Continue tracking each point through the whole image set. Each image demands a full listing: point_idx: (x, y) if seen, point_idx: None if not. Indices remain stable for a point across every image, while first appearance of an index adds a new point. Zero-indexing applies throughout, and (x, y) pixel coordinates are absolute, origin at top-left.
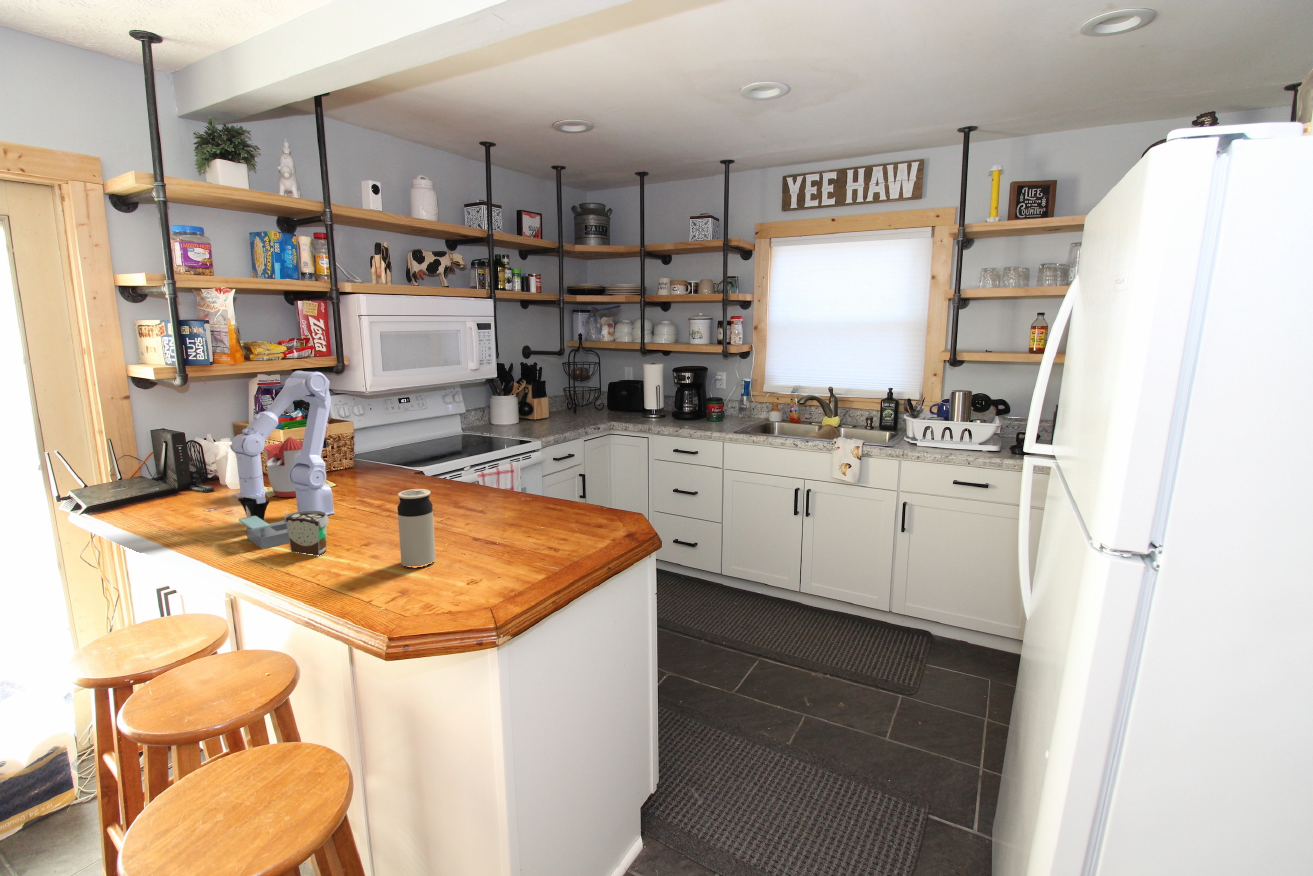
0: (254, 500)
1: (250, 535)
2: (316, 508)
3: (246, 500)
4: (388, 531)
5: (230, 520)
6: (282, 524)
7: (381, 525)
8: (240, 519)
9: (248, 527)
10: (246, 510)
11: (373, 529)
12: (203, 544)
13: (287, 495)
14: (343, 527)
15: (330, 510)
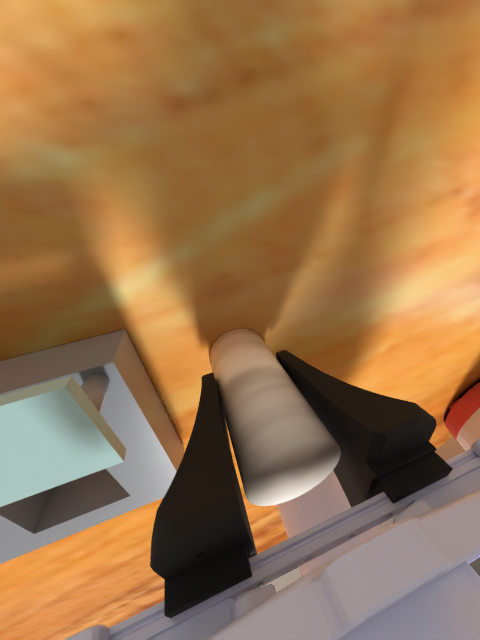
0: (183, 603)
1: (48, 364)
2: None
3: (362, 454)
4: (21, 613)
5: (428, 271)
6: (115, 476)
7: (94, 584)
8: (31, 401)
9: (238, 341)
10: (273, 407)
11: (60, 586)
12: (122, 91)
13: (470, 396)
14: (121, 535)
15: None
